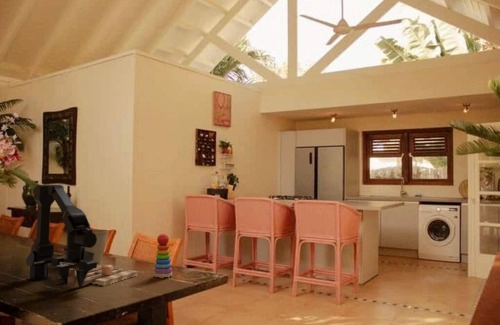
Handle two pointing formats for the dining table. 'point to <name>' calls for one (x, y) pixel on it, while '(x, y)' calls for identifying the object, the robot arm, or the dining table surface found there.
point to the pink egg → (107, 270)
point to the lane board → (111, 276)
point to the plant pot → (98, 244)
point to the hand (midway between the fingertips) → (73, 285)
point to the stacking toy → (163, 258)
